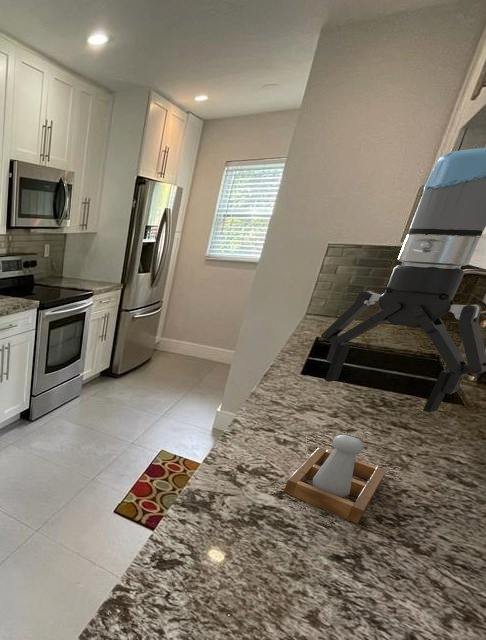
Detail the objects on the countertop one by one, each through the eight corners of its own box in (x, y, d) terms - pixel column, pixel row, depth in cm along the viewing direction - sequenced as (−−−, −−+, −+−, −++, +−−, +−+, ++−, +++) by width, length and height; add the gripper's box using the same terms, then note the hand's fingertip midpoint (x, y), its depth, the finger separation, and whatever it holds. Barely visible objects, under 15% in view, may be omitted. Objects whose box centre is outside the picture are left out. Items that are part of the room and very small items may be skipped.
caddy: (381, 481, 86) (386, 469, 85) (357, 524, 74) (363, 510, 73) (315, 457, 95) (319, 446, 94) (283, 492, 82) (287, 479, 81)
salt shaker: (334, 508, 78) (359, 449, 73) (302, 490, 83) (324, 434, 78) (352, 501, 80) (377, 443, 75) (319, 484, 85) (341, 429, 80)
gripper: (323, 258, 71) (286, 372, 79) (552, 277, 50) (471, 430, 58) (347, 257, 74) (309, 368, 82) (573, 275, 53) (493, 421, 61)
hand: (376, 394), depth 70 cm, fingers open, 13 cm apart
